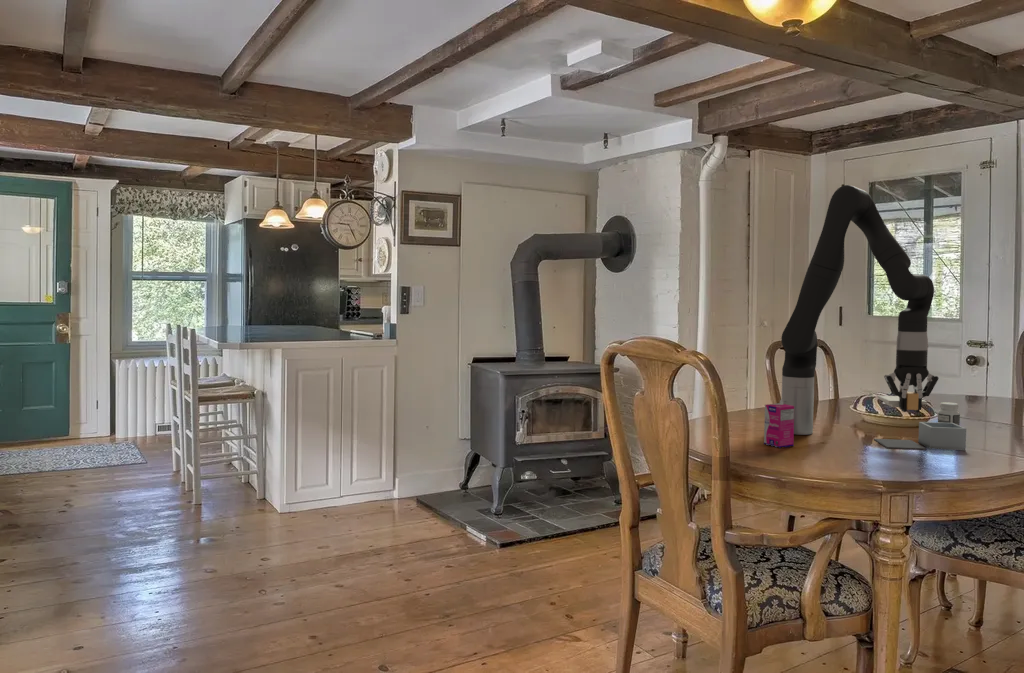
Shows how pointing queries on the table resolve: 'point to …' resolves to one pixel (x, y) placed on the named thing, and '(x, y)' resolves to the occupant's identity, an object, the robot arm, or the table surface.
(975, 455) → the table surface
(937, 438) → the tub
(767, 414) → the supplement box
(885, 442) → the mat
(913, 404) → the lid
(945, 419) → the pill bottle
